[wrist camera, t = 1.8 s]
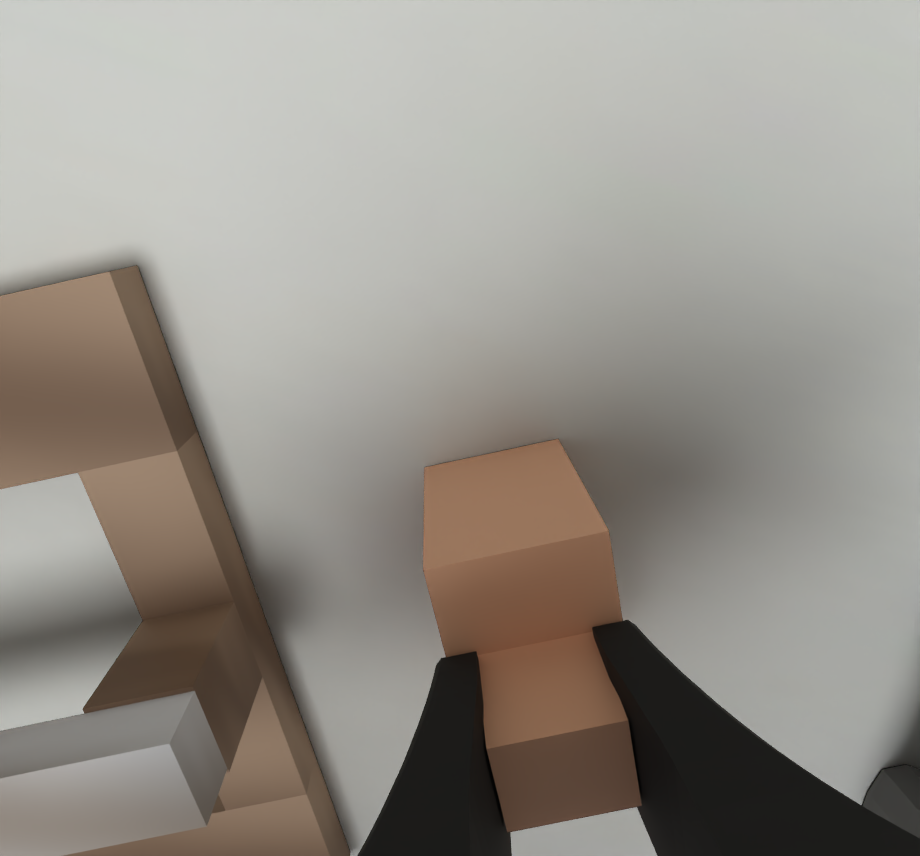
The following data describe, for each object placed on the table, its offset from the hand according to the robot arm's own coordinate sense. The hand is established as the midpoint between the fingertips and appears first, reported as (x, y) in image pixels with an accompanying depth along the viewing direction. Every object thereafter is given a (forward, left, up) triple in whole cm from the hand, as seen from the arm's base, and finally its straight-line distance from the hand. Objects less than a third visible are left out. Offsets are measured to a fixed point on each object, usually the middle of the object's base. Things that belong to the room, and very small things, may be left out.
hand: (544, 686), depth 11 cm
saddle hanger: (0, 0, -4) cm, 4 cm away
